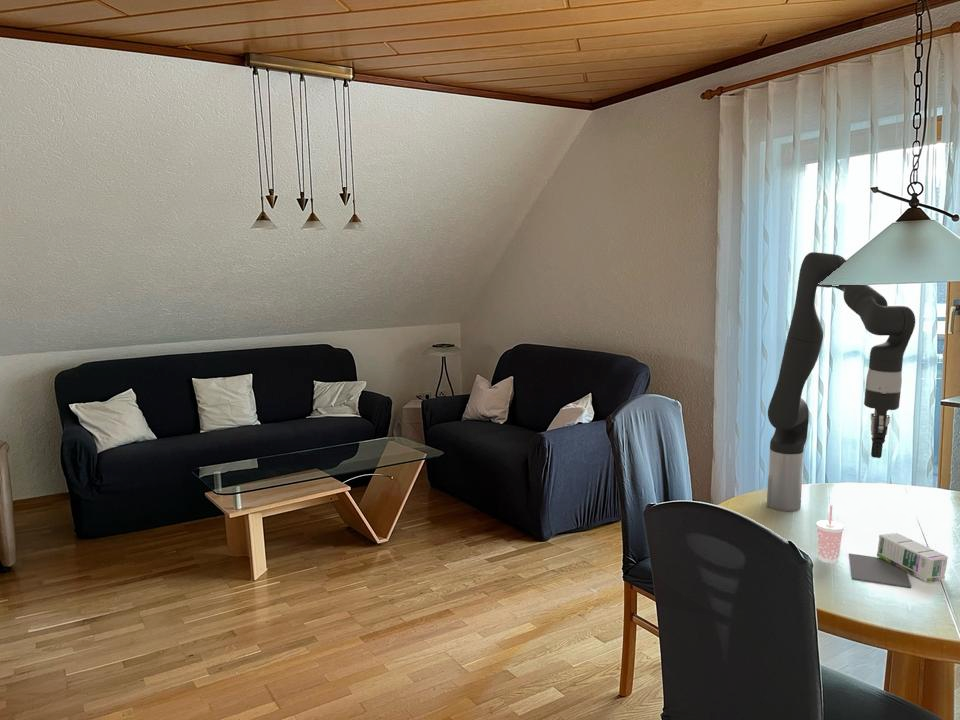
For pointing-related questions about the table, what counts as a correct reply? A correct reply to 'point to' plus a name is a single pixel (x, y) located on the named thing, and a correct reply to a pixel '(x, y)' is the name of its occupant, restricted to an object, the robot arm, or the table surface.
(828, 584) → the table surface
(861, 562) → the mat
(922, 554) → the syrup box
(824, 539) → the beverage cup
